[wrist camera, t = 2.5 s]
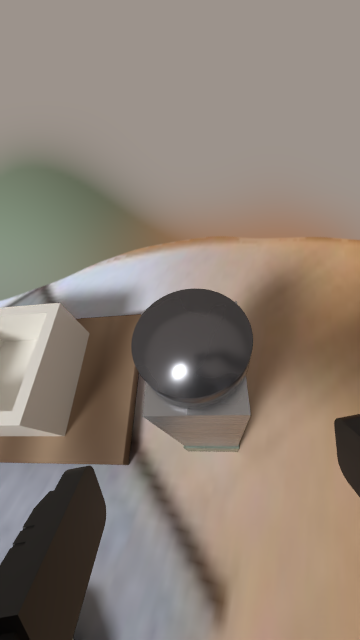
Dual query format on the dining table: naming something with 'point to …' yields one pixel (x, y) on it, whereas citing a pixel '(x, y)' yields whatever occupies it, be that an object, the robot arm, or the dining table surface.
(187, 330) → the capped metal post
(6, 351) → the holder
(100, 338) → the board
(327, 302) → the dining table surface
